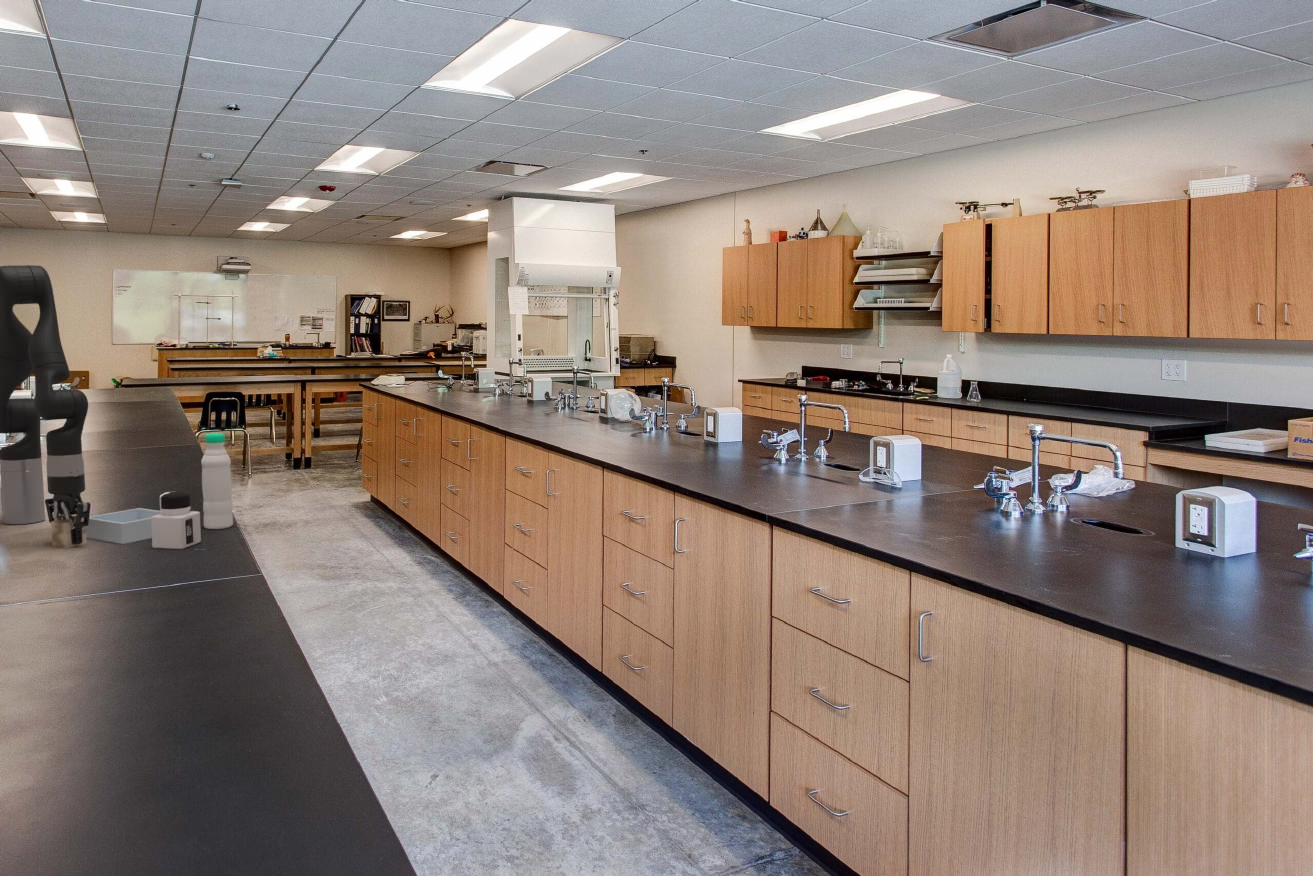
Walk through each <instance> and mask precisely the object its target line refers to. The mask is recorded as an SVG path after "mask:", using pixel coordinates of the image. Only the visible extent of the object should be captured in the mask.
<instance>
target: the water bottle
mask: <svg viewBox="0 0 1313 876" xmlns="http://www.w3.org/2000/svg"><path fill="white" fill-rule="evenodd" d="M204 440H205V444H206V450H205V451H204V453H203V456H202V458H201V461H200V464H201V468H202V469H201V488H202V498H203V504H202V509H203V527H204V528H205V529H207V530H208V529H209V530H223V529H228V528H231V527H232V526H233V525H234V516H233V501H232V493H233V490H232V489H233V488H232V487H233V486H232V471H231V463H232V462H231V461H232V460H231V457H230V455H229V454H228V451H227V450H226V448H225V447H224V445H225V442H226V435H225V434H224V433H221V432H218V433H214V432H213V433H206V434H205V437H204Z"/></svg>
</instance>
